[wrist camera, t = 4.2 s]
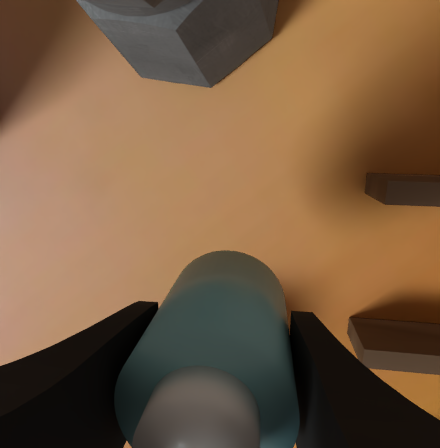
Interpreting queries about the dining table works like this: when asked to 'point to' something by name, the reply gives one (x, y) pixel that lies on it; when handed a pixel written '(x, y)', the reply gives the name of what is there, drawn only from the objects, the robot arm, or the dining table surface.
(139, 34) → the coffeepot
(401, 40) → the dining table surface
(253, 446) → the teal rounded piece
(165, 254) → the dining table surface
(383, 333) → the brown divided sorting rack
